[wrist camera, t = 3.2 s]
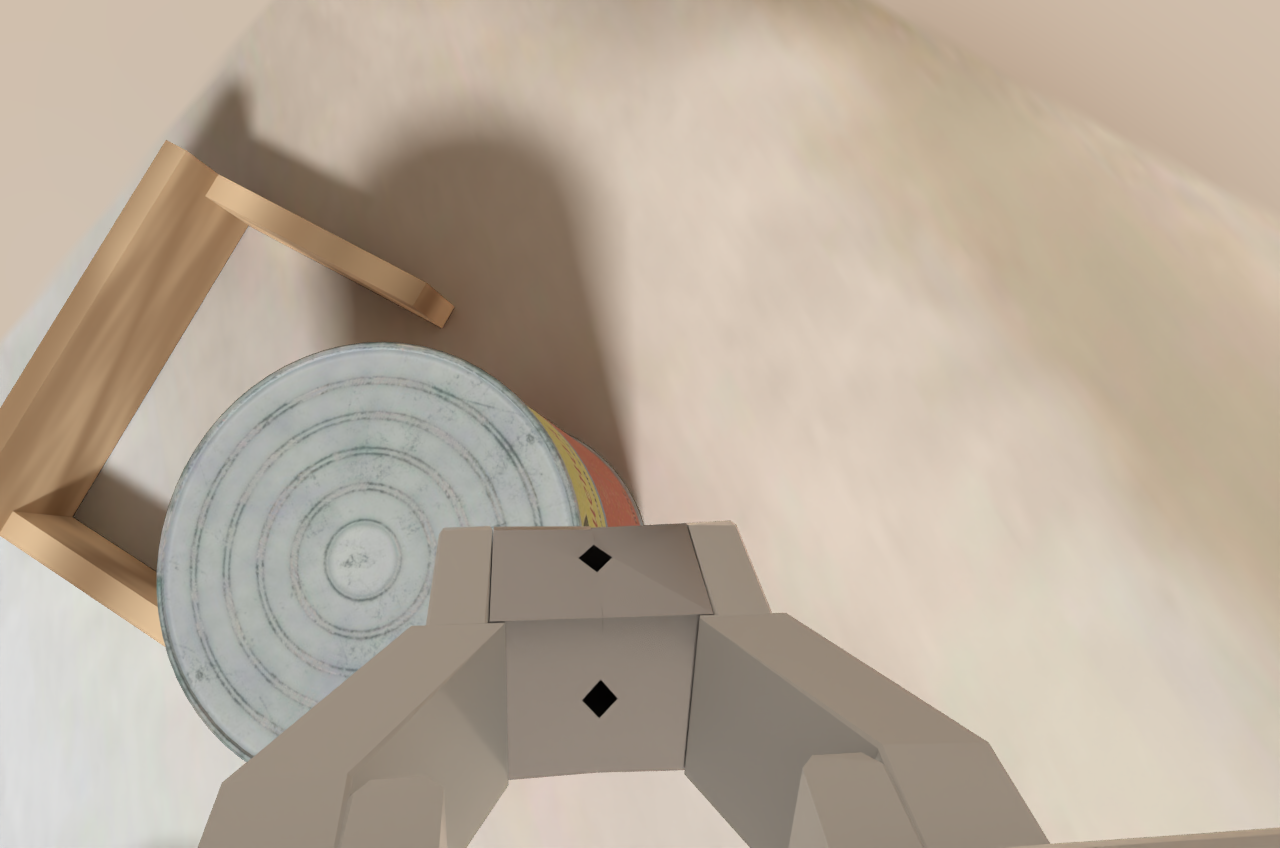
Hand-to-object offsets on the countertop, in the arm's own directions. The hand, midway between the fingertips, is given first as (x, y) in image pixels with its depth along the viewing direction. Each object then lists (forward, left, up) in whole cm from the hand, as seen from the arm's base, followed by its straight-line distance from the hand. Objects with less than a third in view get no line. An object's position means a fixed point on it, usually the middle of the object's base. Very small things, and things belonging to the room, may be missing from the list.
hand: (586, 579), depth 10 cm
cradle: (+18, -9, -24) cm, 32 cm away
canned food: (+8, -1, -25) cm, 26 cm away
